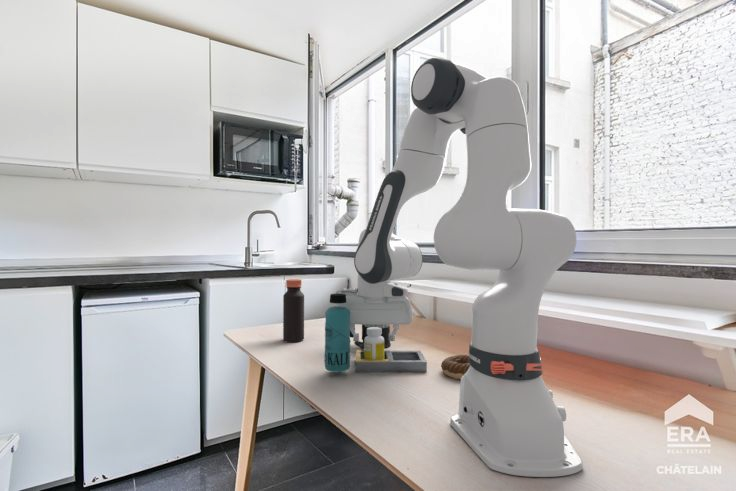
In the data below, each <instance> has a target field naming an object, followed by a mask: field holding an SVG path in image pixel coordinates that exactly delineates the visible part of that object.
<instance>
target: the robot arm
mask: <svg viewBox="0 0 736 491" xmlns="http://www.w3.org/2000/svg"><path fill="white" fill-rule="evenodd" d="M412 77H413V78H412V81H411V85H410V96H411V100H412V103H413V104H414V106H415V108H413V109H412V111H411V113H410V115H409V118H408V119H407V122H406V126H405V127H404V131H403V133H402V134H403V135H402V138H401V142H400V146H399V151H398V155H397V158H396V161H395V163H394V165H393V166H392V168H391V171H390V172H389V173H388V174H386V175H385V177H384V179H383V181H382V182H381V185H380V187H379V189H378V193H377V196H376V199H375V202H374V204H373V208H372V211H371V214H370V217H369V219H368V222H367V226H366V228H365V229H363V230H362V231H361V232H360V235H359V238H358V246H357V247H356V250H355V253H354V257H353V266H354V267H355V271H356V272H357V287H356V288H340V289H339V290H337V291H336V292H335V294H336V293H341V294H346V303H335V304H336V305H335V306H343V307H346V308H347V309H348V310H349V311H350V331H351V332H352V334H353V340H352V341H353V342H355V341H360V333H359V332H356V330H355V331H354V329H353V328H354V327H355V328H356V325H362V324H390V325H392V327H393V330H392V332H390V333H389V341H390V342H395V341H396V340H395V337H396V335H397V333H398V331H399V329H400V325H410V324H411V323H412V322H413V307H412V302H411V300H410V299H409V298H408V297H407V296H408V294H409V290H408V289H407V287H405V286H403V285H401V284H397V283H396V282H395V283H394V282H392V281H394V280H402V279H408V278H412V277H414V276H416V275H418V274H419V272H420V270H422V269H421V268H422V265H423V261H424V260H423V253H422V251H421V248H420V246H419V245H418V244H417V243H415V242H414V241H410V240H408V239H404V238H401V237H399V236H397V235H396V234H394V233H393V232H394V229H395V227H396V224H397V223H396V222H397V221H398V220H397V219H398V217H399V214H400V211H401V209H402V208H403V206H404V205H405V204H406V203H407V202H408V201H410V200H411V199H412V198H414V197H415V196H418V195H421V194H423V193H425V192H427V191H429V190H431V189H433V188H434V187H435V186H436V185H437V184H438V183H439V181H440V179H441V177H442V175H443V172H444V168H445V164H446V160H447V156H448V151H449V150H448V149H449V146H450V141H451V138H452V136H453V135H454V134H455V133H456V132H458V130H459V131H460V132H461V133H462V134H463V135H465V142H466V143H465V144H466V145H465V146H466V178H465V179H466V180H465V184H464V187H463V188H464V189H463V190H462V193H461V195H460V196H459V199H458V200H457V201H456V203H455V204H454V206H453V207H451V208H450V209H449V210H447V212H445V213H444V214H443V215H442V216H441V217H440V218H439V220H438V222H437V223H436V225H435V228H434V233H433V245H434V249H435V252H436V254H437V256H438V257H439V259H440V261H441V262H442V263H444V264H445V265H446V266H450V267H453V268H454V267H455V268H458V269H464V270H471V271H474V270H475V271H477V270H478V271H482V270H483V271H484V270H486V271H487V270H488V271H489V270H490V271H491V270H492V271H494V270H499V273H498V275H497V278H496V280H495V282H494V284H493V285H492V286H491V287H490V288H489V289H487V290H485V291H484V292H481V293H480V294H479V295H478V296H477V297H476V298H475V300H474V302H473V304H472V306H471V342H470V343H469V348H468V354H467V355H468V356H469V364H470V367H469V369H468V371H467V372H466V373H465V374H464V375H463V376H462V377H461V380H460V387H459V399H458V400H459V402H458V405H459V406H458V413H455V414H453V415H452V416H450V420H449V422H450V423H449V424H450V426H452V428H453V429H454V430H455V431H456V432H457V433H458V434H459V436H460V437H462V439H463V440H464V441H465V442H466V443H467V445H468V446H469V447H470V448H471V449H472V451H473V452H474V453H475V454H477V456H478V457H479V458H480V460H482V461H483V463H484V464H485V465H486V466H487V467H488V468H489V469H491V470H492V471H496V472H499V473H503V474H507V475H512V476H521V477H531V478H532V477H534V478H535V477H536V478H548V477H552V478H553V477H554V478H555V477H563V476H570V475H574V474H577V473H579V472H581V471H582V470H583V469H584V466H583V465H584V464H583V460H582V459H581V457H580V456H579V454H578V453H577V452H576V449H575V448H574V447H573V445H572V444H571V442H570V441H569V439H568V438H567V436H566V435H565V430H564V428H565V427H564V422H566V421H567V412H566V408H565V407H564V406H561V405H556V403H555V401H554V399H553V391H552V390H551V389H550V390H549V389H548V387H547V385H546V382H545V381H544V379H543V373H544V372H543V367H542V366H543V362H542V358H541V356H540V350H539V348H538V347H537V346H538V344H537V343H538V342H537V341H538V323H539V322H538V321H539V312H540V311H539V309H540V305H541V301H542V297H543V295H544V291H545V290H546V287H547V285H548V283H549V281H551V278H552V277H553V276H554V274H555V273H556V271H557V270H559V268H561V267H562V266H563V265H564V264H566V263H567V262H568V261H569V260H571V257H572V256H573V254H574V252H575V250H576V247H577V233H576V228H575V227H574V224H573V222H572V221H571V220H570V218H568V217H567V216H565V215H563V214H560V213H556V212H553V211H548V210H544V209H539V208H537V209H536V208H508V206H507V199H508V198H507V197H508V194H509V193H510V192H511V191H513V190H514V189H516V188H517V187H519V186H520V185H522V184H523V183H525V181H526V180H527V179H528V177H529V176H530V173H531V170H532V158H531V149H530V135H529V127H528V119H527V113H526V108H525V104H524V101H523V98H522V94H521V91H520V88H519V86H518V84H517V83H516V82H515V81H514V80H512V79H510V78H508V77H506V76H505V77H504V76H493V77H487V76H485V75H484V74H482V73H480V72H478V71H476V70H475V69H474V68H471V67H470V66H466V65H463V64H459V63H456V62H452V60H450V59H448V58H443V57H431V58H428V59H426V60H425V61H424V62H423V63H422V64H421V65H420V66H419V67H418V68H417V70H416V71H415V74H414V75H413V76H412Z"/></svg>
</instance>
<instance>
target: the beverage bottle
mask: <svg viewBox="0 0 736 491" xmlns="http://www.w3.org/2000/svg"><path fill="white" fill-rule="evenodd" d="M329 303H330V304H336V303H346V294H341V292H338V293H336V292H335V293H331V294H330V295H329ZM324 313H325V323H324V325H325V326H324V352H323V353H324V355H323V356H324V364H323V365H324V368H325V370H326V371H328V372H330V373H331V372H333V373H339V372H340V373H342V372H346V371H348V370H349V369H350V366H351V337H350V311H349V310H348V309H347V308H346V307H343V306H337V305H335V306H334V305H333V306H329V308H327V309H326V310H325V312H324Z"/></svg>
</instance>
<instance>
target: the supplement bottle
mask: <svg viewBox="0 0 736 491" xmlns="http://www.w3.org/2000/svg"><path fill="white" fill-rule="evenodd" d="M381 334H382V329H381V328H378V327H370V328H367V335H368V336H366V337H365V339H364V349H363V351H364V359H384V351H385V348H384V338H383V337H382V336H381Z"/></svg>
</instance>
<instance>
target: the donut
mask: <svg viewBox="0 0 736 491" xmlns="http://www.w3.org/2000/svg"><path fill="white" fill-rule="evenodd" d="M440 367H441V370H442V372H443V373H444V374H445V375H446V376H447V377H449V378H451V379H455V380H459V381H461V377H462V376H463V375H464V374H465V373H466V372H467V371H468V369H469V367H470V364H469V355H468V354H457V355H452V356H449V357H446V358H444V359H443V360H442V362H441V365H440Z"/></svg>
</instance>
